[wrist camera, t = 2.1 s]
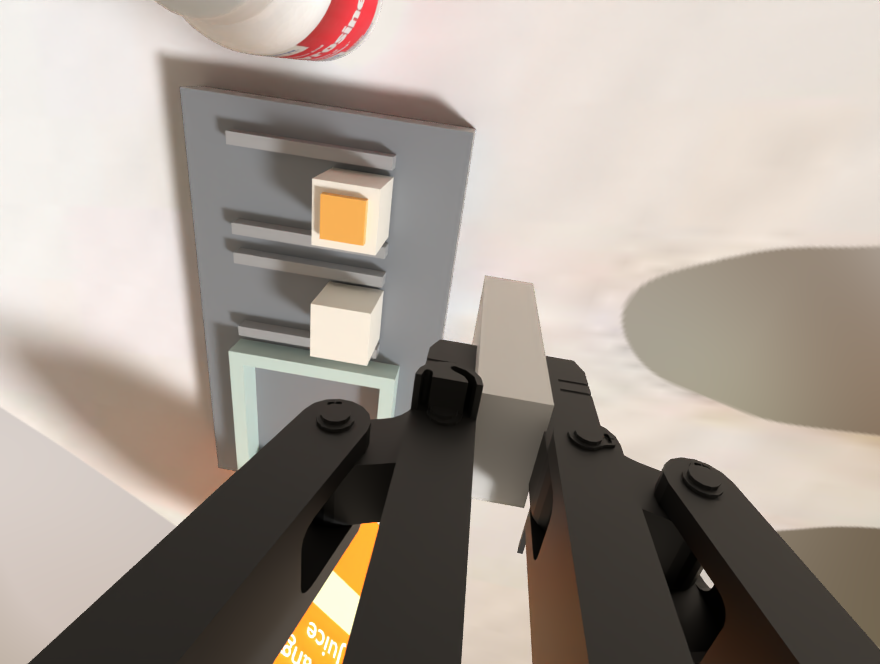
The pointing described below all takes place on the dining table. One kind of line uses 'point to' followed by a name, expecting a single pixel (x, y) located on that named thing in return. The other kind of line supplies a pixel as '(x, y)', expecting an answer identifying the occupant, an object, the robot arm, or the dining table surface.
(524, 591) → the dining table surface
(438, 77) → the dining table surface
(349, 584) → the orange juice
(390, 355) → the panel
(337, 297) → the toggle plain
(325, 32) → the pill bottle
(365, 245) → the block
